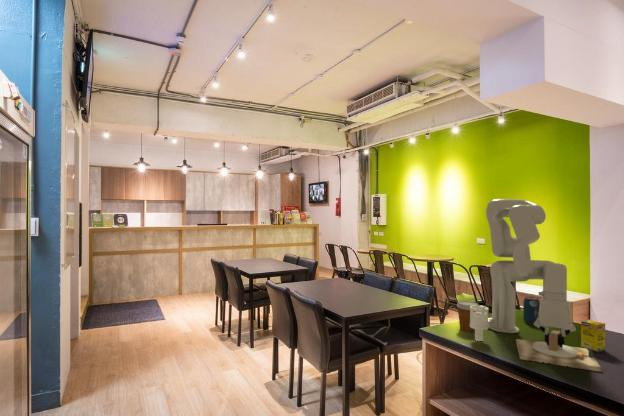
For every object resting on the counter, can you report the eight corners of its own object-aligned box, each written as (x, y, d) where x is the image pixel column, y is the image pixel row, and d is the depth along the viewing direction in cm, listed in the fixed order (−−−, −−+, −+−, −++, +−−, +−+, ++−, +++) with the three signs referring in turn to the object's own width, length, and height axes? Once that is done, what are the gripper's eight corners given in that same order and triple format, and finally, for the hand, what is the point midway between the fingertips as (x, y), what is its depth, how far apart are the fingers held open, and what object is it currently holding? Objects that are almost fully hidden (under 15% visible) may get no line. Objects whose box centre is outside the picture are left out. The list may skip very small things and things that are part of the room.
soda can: (539, 325, 181) (539, 300, 182) (522, 322, 185) (523, 298, 185) (539, 322, 187) (540, 297, 187) (523, 319, 191) (524, 295, 191)
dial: (580, 362, 130) (580, 343, 131) (529, 351, 141) (529, 333, 141) (584, 351, 141) (584, 333, 141) (536, 342, 151) (536, 325, 151)
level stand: (520, 359, 137) (520, 346, 137) (516, 342, 155) (516, 331, 155) (601, 371, 127) (601, 358, 127) (586, 352, 145) (586, 340, 145)
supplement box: (597, 353, 145) (597, 324, 145) (580, 348, 150) (580, 320, 150) (605, 351, 147) (605, 323, 147) (588, 346, 153) (588, 319, 153)
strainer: (474, 343, 153) (474, 306, 153) (466, 337, 160) (467, 302, 160) (491, 343, 153) (491, 306, 154) (483, 338, 160) (483, 302, 161)
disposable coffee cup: (453, 326, 177) (453, 300, 178) (473, 326, 177) (474, 301, 177) (460, 332, 168) (461, 305, 168) (482, 333, 168) (482, 305, 168)
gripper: (530, 295, 142) (530, 345, 141) (583, 300, 135) (583, 352, 134) (528, 292, 148) (528, 339, 148) (579, 296, 141) (578, 346, 141)
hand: (554, 345), depth 141 cm, fingers closed on dial, 3 cm apart
